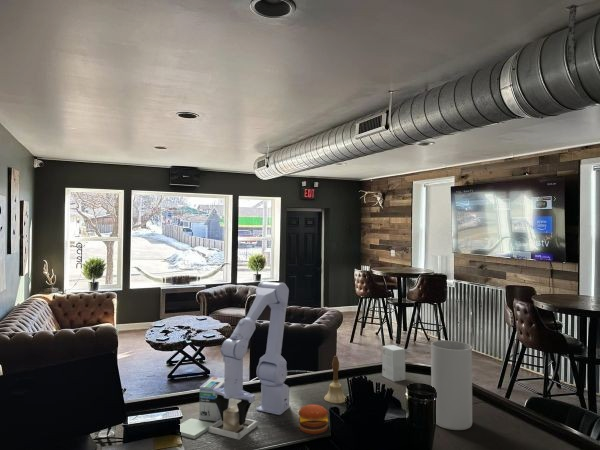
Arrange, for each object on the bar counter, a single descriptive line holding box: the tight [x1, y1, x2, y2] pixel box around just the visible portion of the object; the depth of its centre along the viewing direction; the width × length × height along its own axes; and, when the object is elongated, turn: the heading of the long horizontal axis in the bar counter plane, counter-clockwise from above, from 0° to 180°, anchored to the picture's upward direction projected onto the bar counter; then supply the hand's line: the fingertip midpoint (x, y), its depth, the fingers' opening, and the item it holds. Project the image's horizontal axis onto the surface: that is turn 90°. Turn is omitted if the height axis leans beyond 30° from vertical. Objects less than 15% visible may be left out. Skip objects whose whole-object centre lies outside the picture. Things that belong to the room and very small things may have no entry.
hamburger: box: [298, 404, 329, 435], centre depth 134 cm, size 9×10×7 cm
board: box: [179, 418, 214, 440], centre depth 132 cm, size 9×9×1 cm
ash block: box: [222, 405, 244, 433], centre depth 132 cm, size 4×5×6 cm
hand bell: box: [324, 355, 347, 404], centre depth 157 cm, size 8×8×16 cm
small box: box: [381, 344, 406, 383], centre depth 181 cm, size 8×6×13 cm
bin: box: [207, 418, 258, 440], centre depth 132 cm, size 11×10×2 cm
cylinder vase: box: [430, 339, 473, 431], centre depth 138 cm, size 12×12×25 cm
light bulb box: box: [198, 376, 230, 422], centre depth 143 cm, size 11×7×11 cm, turn 168°
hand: (233, 421), depth 132 cm, fingers open, 6 cm apart
